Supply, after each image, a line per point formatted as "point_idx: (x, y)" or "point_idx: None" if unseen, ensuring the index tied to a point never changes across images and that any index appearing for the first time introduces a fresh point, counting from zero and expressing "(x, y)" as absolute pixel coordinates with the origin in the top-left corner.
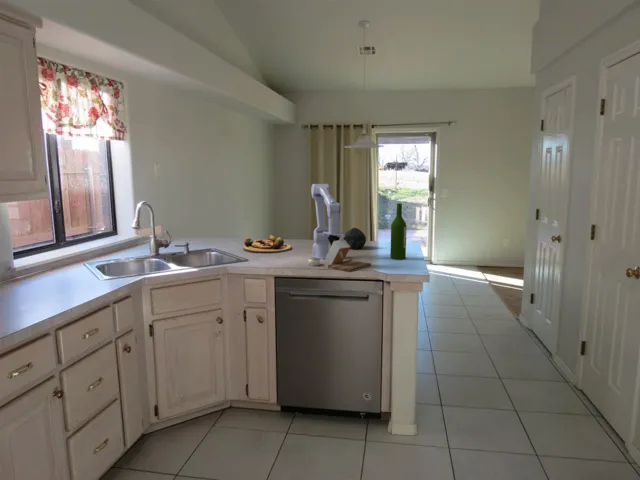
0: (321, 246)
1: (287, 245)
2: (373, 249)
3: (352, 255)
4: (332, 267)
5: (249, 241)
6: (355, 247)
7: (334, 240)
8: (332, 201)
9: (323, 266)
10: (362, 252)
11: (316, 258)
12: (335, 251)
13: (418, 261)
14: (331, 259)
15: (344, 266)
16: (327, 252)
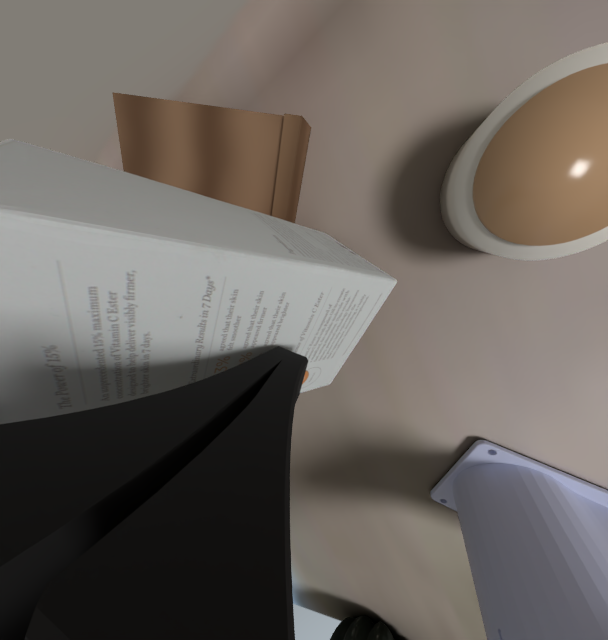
0: (576, 606)
1: None
2: (301, 591)
3: (329, 519)
4: (257, 115)
5: None
6: (364, 625)
7: (79, 421)
8: None
9: (378, 170)
10: (315, 561)
11: (519, 206)
12: (165, 191)
13: None
14: (299, 229)
15: (189, 186)
16: (465, 519)
